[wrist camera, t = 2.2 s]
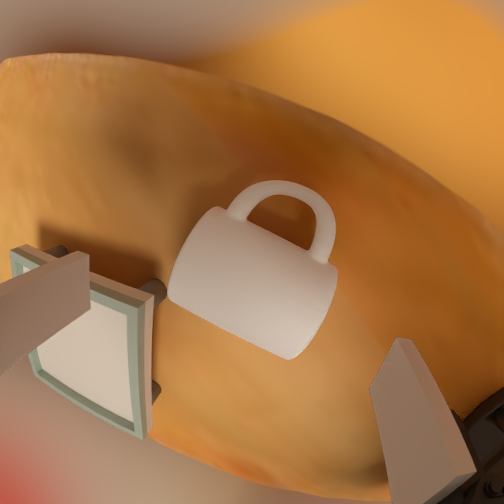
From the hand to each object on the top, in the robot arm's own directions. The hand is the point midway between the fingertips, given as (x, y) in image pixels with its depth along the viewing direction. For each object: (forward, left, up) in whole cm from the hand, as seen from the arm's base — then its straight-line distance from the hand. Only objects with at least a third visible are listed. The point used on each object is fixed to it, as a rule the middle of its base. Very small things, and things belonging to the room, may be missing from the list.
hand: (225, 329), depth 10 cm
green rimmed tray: (+17, +14, -14) cm, 26 cm away
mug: (0, 0, -15) cm, 15 cm away
